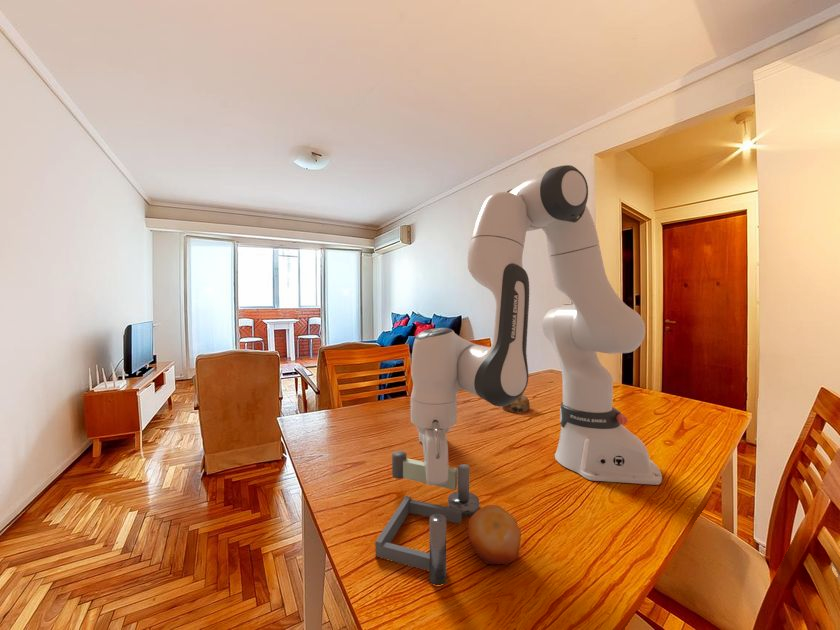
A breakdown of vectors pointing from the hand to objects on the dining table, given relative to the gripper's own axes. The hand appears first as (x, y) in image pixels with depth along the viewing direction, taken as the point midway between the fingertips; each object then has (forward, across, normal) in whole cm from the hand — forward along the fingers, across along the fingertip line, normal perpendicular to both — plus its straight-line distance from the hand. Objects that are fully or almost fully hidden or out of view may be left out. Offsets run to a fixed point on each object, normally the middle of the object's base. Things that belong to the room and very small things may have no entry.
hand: (432, 482), depth 65 cm
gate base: (+5, 0, -6) cm, 8 cm away
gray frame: (+5, -8, +2) cm, 10 cm away
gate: (+3, +3, +1) cm, 4 cm away
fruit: (+5, -13, -9) cm, 16 cm away
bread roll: (+4, +58, -35) cm, 68 cm away
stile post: (+5, -17, 0) cm, 18 cm away
